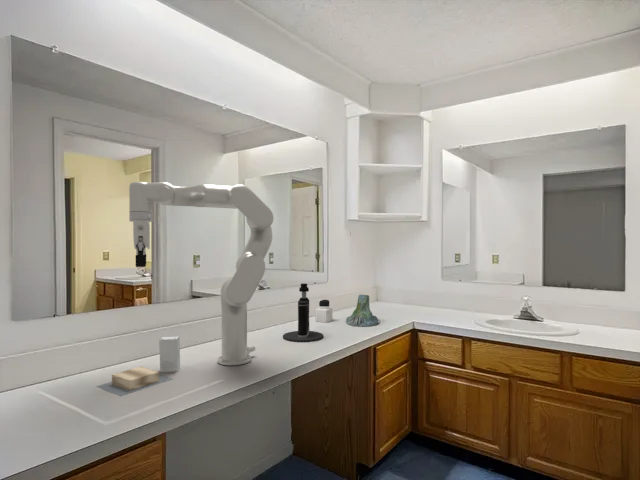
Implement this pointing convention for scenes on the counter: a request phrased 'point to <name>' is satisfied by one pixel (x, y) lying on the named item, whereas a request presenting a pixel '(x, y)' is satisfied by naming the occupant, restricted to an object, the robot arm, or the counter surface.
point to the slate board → (122, 391)
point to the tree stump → (362, 314)
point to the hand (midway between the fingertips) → (141, 265)
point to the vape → (303, 322)
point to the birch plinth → (135, 378)
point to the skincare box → (169, 354)
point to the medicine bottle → (324, 312)
